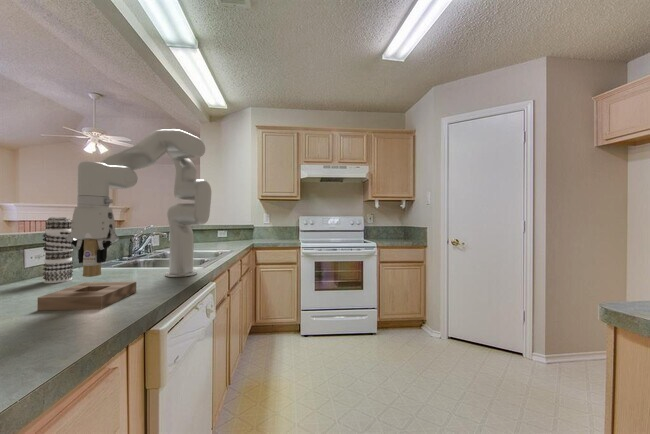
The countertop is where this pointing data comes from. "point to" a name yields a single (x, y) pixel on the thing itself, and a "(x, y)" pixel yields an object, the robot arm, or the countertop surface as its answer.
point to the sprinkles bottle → (90, 257)
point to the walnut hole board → (86, 296)
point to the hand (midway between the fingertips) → (92, 261)
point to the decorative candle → (57, 250)
